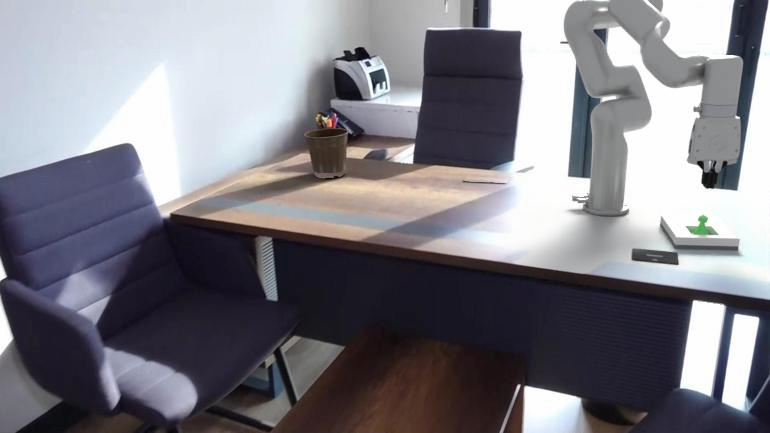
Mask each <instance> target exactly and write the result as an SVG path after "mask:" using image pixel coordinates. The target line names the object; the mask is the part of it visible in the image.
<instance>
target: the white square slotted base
mask: <svg viewBox="0 0 770 433" xmlns="http://www.w3.org/2000/svg"><path fill="white" fill-rule="evenodd" d="M699 216H700V215H676V214H675V215H674V214H670V215H669V214H660V220H659V227H660V228H661V229H662V231H663V233H664V234H665V236H666V237H667V239H668V240H669V242H670V243H671V245H672V246H673V248H674V249H680V250H681V249H682V250H709V251H710V250H711V251H713V250H717V251H718V250H719V251H738V250H739V247H740V240H741V238H740V237H739V236H738V235H737V234H736V233H735V232H734V230H732V228H730V227H729V226H728V225H727V223H726V222H725V221H724V220H723V219H722V218H721V217H720V216H719V215H705V216H706V217H708V220H707V222H706V223H705V226H706V229H707V232H708V234H709V235H692V233H693V232H695V230H696V229H697V227H698V225H699V224H700V222H699V221H698V218H699Z"/></svg>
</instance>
